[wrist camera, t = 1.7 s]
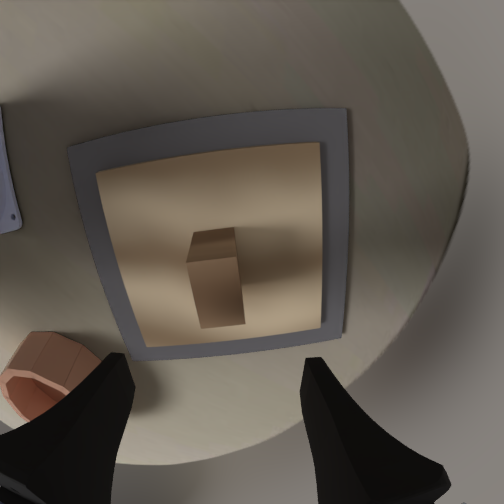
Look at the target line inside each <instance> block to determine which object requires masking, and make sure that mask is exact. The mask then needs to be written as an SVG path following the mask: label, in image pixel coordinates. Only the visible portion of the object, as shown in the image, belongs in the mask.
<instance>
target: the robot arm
mask: <svg viewBox="0 0 504 504" xmlns="http://www.w3.org/2000/svg"><path fill="white" fill-rule="evenodd" d="M14 215H15V216H16V218H14ZM21 226H22V219H21V216H20V212H19V208H18V204H17V201H16V197H15V192H14V188H13V184H12V179H11V174H10V169H9V164H8V158H7V153H6V146H5V140H4V132H3V124H2V115H1V106H0V234H3V233H6V232H10V231H14V230H18V229H19V228H21ZM134 392H135V385H134V382H133V379H132V376H131V373H130V370H129V367H128V364H127V361H126V358H125V354H122V353H113V352H111V353H110V354H109V355H108V356H107V357H106V358H105V359H104V360H103V361H102V362H101V363H100V364H99V365H98V366H97V367H96V368H95V369H94V370H93V371H92V372H91V373H90V374H89V375H88V376H87V377H86V378H85V379H84V380H83V381H82V382H81V383H80V384H79V385H77V386H76V387H75V388H74V389H73V390H72V391H71V392H70V393H68V394H67V395H66V396H65V397H64V398H63V399H62V400H60V401H59V402H58V403H57V404H55V405H54V406H53V407H51V408H50V409H48V410H47V411H46V412H44V413H43V414H41V415H39V416H38V417H36V418H34V419H33V420H31V421H29V422H28V423H26V424H24V425H22V426H20V427H18V428H16V429H14V430H12V431H9V432H7V433H5V434H2V435H0V485H1V487H0V504H111V490H112V481H113V473H114V467H115V461H116V456H117V452H118V448H119V445H120V442H121V439H122V436H123V433H124V430H125V427H126V424H127V420H128V417H129V414H130V411H131V408H132V403H133V398H134ZM300 398H301V407H302V415H303V419H304V423H305V427H306V431H307V435H308V439H309V443H310V448H311V452H312V456H313V461H314V466H315V474H316V483H317V492H318V504H434V502H435V501H436V500H437V499H438V498H440V497H441V496H442V495H443V494H445V493H446V492H447V491H448V490H449V488H450V486H451V482H450V480H449V478H448V475H447V473H446V471H445V469H444V467H443V466H442V465H441V464H439V463H436V462H434V461H432V460H430V459H428V458H426V457H424V456H422V455H420V454H418V453H417V452H415V451H413V450H412V449H410V448H408V447H407V446H405V445H404V444H402V443H401V442H400V441H398V440H397V439H395V438H394V437H392V436H391V435H390V434H389V433H387V432H386V431H385V430H384V429H382V428H381V427H380V426H379V425H378V424H377V423H376V422H375V421H373V420H372V419H371V418H370V417H369V416H368V415H367V414H366V413H365V412H364V411H363V410H362V409H361V408H360V406H359V405H358V404H357V403H356V402H355V401H354V400H353V399H352V397H351V396H350V395H349V394H348V393H347V391H346V390H345V389H344V388H343V386H342V385H341V384H340V382H339V381H338V380H337V378H336V377H335V376H334V374H333V373H332V372H331V370H330V369H329V367H328V366H327V364H326V363H325V361H324V360H323V359H322V358H321V357H314V358H306V359H305V365H304V371H303V376H302V382H301V387H300ZM462 504H466V503H462Z"/></svg>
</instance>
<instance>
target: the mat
mask: <svg viewBox="0 0 504 504" xmlns="http://www.w3.org/2000/svg"><path fill="white" fill-rule="evenodd" d="M300 142H319V143H320V163H321V189H322V301H321V327H320V328H317V329H311V330H304V331H298V332H291V333H285V334H278V335H271V336H263V337H255V338H247V339H239V340H230V341H220V342H210V343H199V344H188V345H174V346H159V347H146V344H145V342H144V339H143V336H142V334H141V331H140V328H139V326H138V323H137V320H136V318H135V315H134V312H133V309H132V306H131V303H130V300H129V297H128V294H127V291H126V288H125V285H124V282H123V279H122V276H121V273H120V269H119V266H118V263H117V259H116V256H115V252H114V249H113V245H112V242H111V238H110V234H109V230H108V226H107V223H106V218H105V214H104V210H103V206H102V202H101V197H100V193H99V188H98V183H97V178H96V173H97V172H99V171H103V170H108V169H112V168H117V167H122V166H126V165H131V164H136V163H141V162H147V161H152V160H157V159H163V158H169V157H175V156H181V155H188V154H194V153H201V152H208V151H216V150H224V149H232V148H241V147H251V146H261V145H272V144H285V143H300ZM67 152H68V158H69V163H70V168H71V173H72V178H73V183H74V188H75V192H76V196H77V201H78V205H79V209H80V213H81V217H82V221H83V224H84V228H85V232H86V235H87V239H88V242H89V246H90V249H91V252H92V255H93V259H94V262H95V265H96V268H97V271H98V274H99V277H100V280H101V283H102V286H103V289H104V291H105V294H106V297H107V300H108V302H109V305H110V308H111V310H112V313H113V315H114V318H115V320H116V323H117V325H118V328H119V330H120V333H121V335H122V337H123V340H124V342H125V344H126V347H127V349H128V351H129V354H130V356H131V358H132V360H133V361H152V360H171V359H187V358H200V357H211V356H222V355H231V354H240V353H249V352H257V351H265V350H272V349H279V348H286V347H293V346H299V345H305V344H311V343H317V342H323V341H328V340H333V339H339V338H341V337H342V328H343V317H344V306H345V293H346V278H347V260H348V235H349V153H348V129H347V112H346V108H308V109H284V110H268V111H256V112H245V113H235V114H226V115H218V116H210V117H203V118H196V119H189V120H183V121H177V122H171V123H166V124H160V125H155V126H150V127H145V128H141V129H136V130H131V131H127V132H123V133H118V134H114V135H110V136H106V137H102V138H99V139H95V140H91V141H87V142H84V143H80V144H77V145H74V146H70V147H67Z"/></svg>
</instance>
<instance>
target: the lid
mask: <svg viewBox="0 0 504 504" xmlns="http://www.w3.org/2000/svg"><path fill="white" fill-rule="evenodd" d="M96 178H97V183H98V188H99V193H100V197H101V202H102V206H103V210H104V214H105V218H106V223H107V226H108V230H109V234H110V238H111V242H112V245H113V249H114V252H115V256H116V259H117V263H118V266H119V269H120V273H121V276H122V279H123V282H124V285H125V288H126V291H127V294H128V297H129V300H130V303H131V306H132V309H133V312H134V315H135V318H136V320H137V323H138V326H139V328H140V331H141V334H142V336H143V339H144V342H145V344H146V347H159V346H174V345H188V344H199V343H210V342H220V341H230V340H239V339H247V338H255V337H263V336H271V335H278V334H285V333H291V332H298V331H304V330H311V329H317V328H320V327H321V301H322V189H321V163H320V143H319V142H300V143H285V144H272V145H261V146H251V147H241V148H232V149H224V150H216V151H208V152H201V153H194V154H188V155H181V156H175V157H169V158H163V159H157V160H152V161H147V162H141V163H136V164H131V165H126V166H122V167H117V168H112V169H108V170H103V171H99V172H97V173H96Z"/></svg>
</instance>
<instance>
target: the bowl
mask: <svg viewBox="0 0 504 504" xmlns="http://www.w3.org/2000/svg"><path fill="white" fill-rule="evenodd" d="M101 362H102V361H101V360H100V359H99V358H98V357H96V356H95V355H94V354H93V353H92V352H91V351H89V350H88V349H87V348H86V347H85V346H84V345H82V344H80V343H78V342H75V341H73V340H71V339H68V338H66V337H64V336H62V335H59V334H57V333H55V332H30V333H29V334H28V336H27V337H26V338H25V339H24V340H23V341H22V342H21V343H20V345H19V346H18V348H17V349H16V351H15V352H14V354H13V355H12V357H11V359H10V360H9V362H8V363H7V365H6V367H5V368H4V370H3V372H2V373H1V375H0V387H1V390H2V393H3V396H4V398H5V399H6V400H7V401H8V403H9V404H10V405H11V406H12V408H13V409H14V410H15V411H16V413H17V414H18V415H19V416H20V417H22V418H23V419H24V420H25V421H27V422H29V421H31V420H33V419H34V418H36V417H38V416H39V415H41V414H43V413H44V412H46V411H47V410H48V409H50V408H51V407H53V406H54V405H55V404H57V403H58V402H59V401H60V400H62V399H63V398H64V397H65V396H66V395H67V394H68V393H70V392H71V391H72V390H73V389H74V388H75V387H76V386H77V385H79V384H80V383H81V382H82V381H83V380H84V379H85V378H86V377H87V376H88V375H89V374H90V373H91V372H92V371H93V370H94V369H95V368H96V367H97V366H98V365H99V364H100V363H101Z"/></svg>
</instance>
